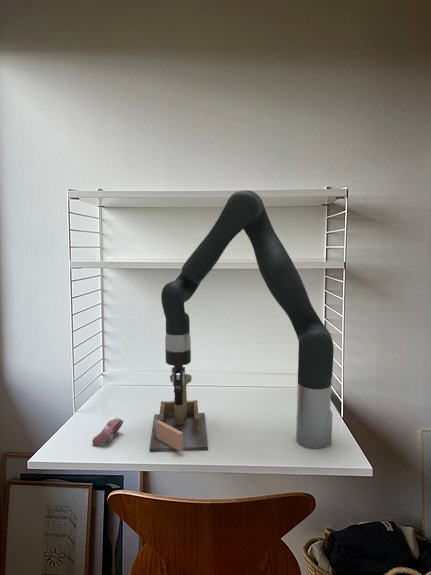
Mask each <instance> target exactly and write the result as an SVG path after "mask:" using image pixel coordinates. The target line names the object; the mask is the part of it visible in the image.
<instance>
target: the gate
mask: <svg viewBox="0 0 431 575" xmlns="http://www.w3.org/2000/svg"><path fill="white" fill-rule="evenodd" d="M153 421H154V438H157V439H159V440H160V441H162V442H164V443H166V444H167V445H169V446H171V447H173V448H174V449H176V450H178V451H177V452H183V451H182V450H183V432H181V431H179V430H177V429H175V428H173V427H171V426H169V425H167V424H165V423H163V422H161V421H160V420H159V419H155V420H154V419H153Z"/></svg>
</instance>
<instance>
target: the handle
mask: <svg viewBox="0 0 431 575" xmlns="http://www.w3.org/2000/svg"><path fill="white" fill-rule="evenodd" d="M182 380H183V376H182ZM169 381H170V382H171V383H173V376H172V374H170V375H169ZM192 381H193V380H192V375H191V374H188V373H185V376H184V385H183V393H182V398H183V404H182V405H175V397H174V399H173V401H174V416H175V423H176V424H178V425H183V424H185V422H186V415H187V401H188V396H187V385H188V384H189V383H191V382H192ZM176 389H181V386H180V385H178V386H176Z"/></svg>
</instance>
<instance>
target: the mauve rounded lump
mask: <svg viewBox="0 0 431 575" xmlns="http://www.w3.org/2000/svg"><path fill="white" fill-rule="evenodd" d="M123 423H124V420H123V419H121V418H118V417H115V418H114V419H113V418H112V419H110V420H108V421H107V423H106V425H105V426H104V428H103V429H102V430H101V432H99V434H97V435H96V436H94V437H93V438H92V444H93V445H94V446H101V445H102V444H103V443H109V442H110V441H111V439H113V438H114V437H115V436H117V433H118V431H119V430H120V428H122V426H123Z"/></svg>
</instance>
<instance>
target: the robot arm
mask: <svg viewBox="0 0 431 575" xmlns="http://www.w3.org/2000/svg"><path fill="white" fill-rule="evenodd" d="M226 201H227V202H226V203H225V205H224V207H223V209H222V211H221V213H220V215H219V216H218V219H216V221H215V223H214V225H213V226H212V228H211V229H210V231H209V232H208V233H207V235H206V236H204V238H203V240H202V241H201V242H200V243H199V244H198V246H197V247H196V248H195V250H194V251H193V252H192V253H191V254H190V255H189V257H188V258H187V260H186V261H185V262H184V263H183V265H182V267H181V272H180V274H179V275H178V276H177V277H176V279H175V280H173V281H170V282H167V283H165V285H164V286H163V287H162V291H161V295H160V296H161V299H160V300H161V306H162V309H163V314H164V316H165V338H164V339H165V340H164V344H165V346H164V347H165V348H164V349H165V363H166V364H167V365H169V366H172V367H171V375H172V376H173V382H172V385H173V393H174V398H175V405H182V404H183V398H182V393H183V385H184V376H185V374H186V367H185V366H187V365H189V364H190V363H191V361H192V359H191V358H192V351H191V350H192V349H191V348H192V347H191V346H192V345H191V343H192V342H191V340H192V339H191V334H190V333H191V332H190V316H189V313H187V312H186V311H185V303H186V302H187V301H189V300H190V299H191V298H192V297H193V295H194V294H195V293H196V291H197V289H199V287H200V284H201V283H202V281H203V280H204V279H205V278H206V277H207V276H208V274H209V273H210V272H211V271H212V269H213V268H214V267H215V265H216V264H217V263H218V261H219V259H220V258H221V256H222V254H223V253H224V251H225V250H226V249H227V247H228V246H229V244H230V243H231V242H232V241H233V239H234V238H236V236H237V235H238V234H239V233H241V231H244V232H245V235H246V236H247V237H248V240H249V242H250V244H251V246H252V248H253V253H254V256H255V259H256V263H257V266H258V270H259V272H260V275H261V277H262V279H263V281H264V282H265V285H266V287H267V288H268V290H269V293H271V295H272V297H273V298H274V300H275V301H276V302H277V303H278V306H280V308H281V309H282V310H283V311H284V312H285V313H286V314H285V315H286V316H287V317H288V319H289V321H290V322H291V325H292V327H293V329H294V332H295V334H296V338H297V341H298V355H297V356H298V358H297V359H298V362H297V364H298V367H297V392H296V394H297V395H296V396H297V398H296V400H297V401H296V402H297V403H296V432H295V434H296V436H295V439H296V440H295V441H296V442H297V444H298V445H301V447H302V446H303V447H305V448H309V449H322V448H326V447H328V446H331V445H332V439H333V438H332V436H333V411H332V410H331V402H332V401H331V400H332V379H333V371H334V370H333V368H334V351H335V350H334V348H335V346H334V342H333V338H332V336H331V333H330V331H329V330H328V328H327V327H326V325H325V324H324V323H323V322H322V320H321V318H320V316H318V314H317V312H316V310H315V308H314V306H313V305H312V303H311V300H310V298H309V295H308V292H307V290H306V287H305V284H304V282H303V280H302V278H301V275H300V274H299V271H298V270H297V268H296V266H295V263H294V261H293V260H292V259H291V257H290V255H289V252H287V250H286V248H285V246H284V245H283V243H282V241H281V240H280V239H279V238H280V237H278V235H277V233H276V231H275V228H273V225H272V223H271V220H270V217H269V216H268V212H267V211H266V210H267V209H266V208H265V205H264V202H263V199H262V198H261V196H260V195H259V194H258V193H257V192H255V191H252V190H247V189H246V190H238V191H236V192H234V193H233V194H231V195H230V196H229V198H228V199H227V200H226ZM182 376H183V380H182ZM178 385H180V386H181V389H176V386H178Z"/></svg>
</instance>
